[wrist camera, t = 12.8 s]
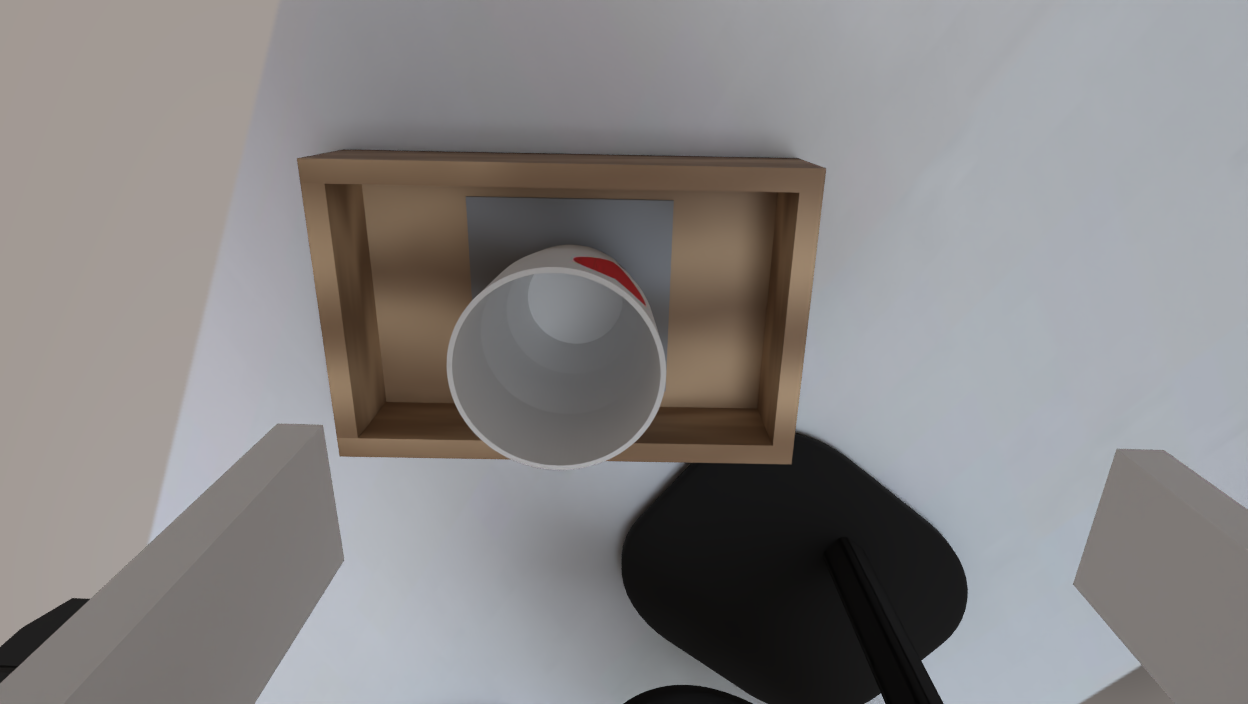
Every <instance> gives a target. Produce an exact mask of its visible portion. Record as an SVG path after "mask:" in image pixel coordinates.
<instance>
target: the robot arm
mask: <svg viewBox="0 0 1248 704" xmlns="http://www.w3.org/2000/svg"><path fill="white" fill-rule="evenodd" d="M343 561H344V555H343V549H342V542H341V536H340V530H339V524H338V517H337V511H336V505H335V498H334V492H333V486H332V480H331V473H330V467H329V461H328V454H327V448H326V442H325V436H324V429H323V425H307V424H277V425H275V426H274V427H273V428H272V429H271V430H270V431H269V432H268V433H267V434H266V435H265V436H264V437H263V438H262V439H261V440H259V441H258V442H257V443H256V444H255V445H254V446H253V447H252V448H251V449H250V450H249V451H248V452H247V453H246V454H245V455H243V456H242V457H241V458H240V459H239V460H238V461H237V462H236V463H235V464H234V465H233V466H232V467H231V468H230V469H229V470H227V471H226V472H225V473H224V474H223V475H222V476H221V477H220V478H219V479H218V480H217V481H216V482H215V483H214V484H213V485H211V486H210V487H209V488H208V489H207V490H206V491H205V492H204V493H203V494H202V495H201V496H200V497H199V498H198V499H196V500H195V501H194V502H193V503H192V504H191V505H190V506H189V507H188V508H187V509H186V510H185V511H184V512H183V513H182V514H180V515H179V516H178V517H177V518H176V519H175V520H174V521H173V522H172V523H171V524H170V525H169V526H168V527H167V528H166V529H164V530H163V531H162V532H161V533H160V534H159V535H158V536H157V537H156V538H155V539H154V540H153V541H152V542H151V543H150V544H148V545H147V546H146V547H145V548H144V549H143V550H142V551H141V552H140V553H139V554H138V555H137V556H136V557H135V558H134V559H132V560H131V561H130V562H129V563H128V564H127V565H126V566H125V567H124V568H123V569H122V570H121V571H120V572H119V573H118V574H117V575H115V576H114V577H113V578H112V579H111V580H110V581H109V582H108V583H107V584H106V585H105V586H104V587H103V588H102V589H100V590H99V592H97V593H96V594H95V595H94V596H93V597H92V598H91V599H77V598H72V599H70V600H69V601H67V602H65V603H63V604H62V605H60V606H58V607H57V608H55V609H53V610H52V611H50V612H48V613H46V614H45V615H43V616H41V617H40V618H38V619H36V620H35V621H33V622H31V623H30V624H28V625H26V626H25V627H23V628H21V629H20V630H19V631H18V632H17V633H16V634H14V636H12V637H11V638H10V639H9V640H8V641H6V642H5V643H4V644H3V645H2V646H1V647H0V704H255V702H256V700H257V699H258V697H259V696H260V694H261V692H262V691H263V689H264V688H265V686H266V684H267V683H268V681H269V680H270V678H271V676H272V675H273V673H274V672H275V670H276V668H277V667H278V665H279V664H280V662H281V660H282V659H283V657H284V656H285V654H286V652H287V651H288V649H289V648H290V646H291V644H292V643H293V641H294V640H295V638H296V636H297V635H298V633H299V632H300V630H301V628H302V627H303V625H304V624H305V622H306V620H307V619H308V617H309V616H310V614H311V612H312V611H313V609H314V608H315V606H316V604H317V603H318V601H319V600H320V598H321V596H322V595H323V593H324V592H325V590H326V588H327V587H328V585H329V584H330V582H331V580H332V579H333V577H334V576H335V574H336V572H337V571H338V569H339V568H340V566H341V564H342V563H343ZM1073 585H1074V586H1075V587H1076V588H1077V589H1078V591H1079V592H1080V593H1081V594H1082V595H1083V596H1084V598H1085V599H1086V600H1087V601H1088V602H1089V604H1090V605H1091V606H1092V607H1093V608H1094V609H1095V611H1096V612H1097V613H1098V614H1099V615H1100V616H1101V618H1102V619H1103V620H1104V621H1105V622H1106V623H1107V625H1108V626H1109V627H1110V628H1111V629H1112V631H1113V632H1114V633H1115V634H1116V635H1117V636H1118V638H1119V639H1120V640H1121V641H1122V642H1123V643H1124V645H1125V646H1126V647H1127V648H1128V649H1129V650H1130V652H1131V653H1132V654H1133V655H1134V656H1135V658H1136V659H1137V660H1138V661H1139V662H1140V663H1141V665H1142V666H1143V667H1144V668H1145V669H1146V670H1147V671H1148V673H1149V674H1150V675H1151V676H1152V677H1153V678H1154V680H1155V681H1156V682H1157V683H1158V684H1159V685H1160V687H1161V688H1162V689H1163V690H1164V692H1165V693H1166V694H1167V695H1168V696H1169V697H1170V699H1171V700H1172V701H1173V702H1174V703H1175V704H1248V509H1246V508H1245V507H1243V506H1242V505H1240V504H1239V503H1238V502H1236V501H1235V500H1233V499H1232V498H1231V497H1229V496H1228V495H1226V494H1225V493H1224V492H1222V491H1221V490H1219V489H1218V488H1217V487H1215V486H1214V485H1212V484H1211V483H1210V482H1208V481H1207V480H1205V479H1204V478H1202V477H1201V476H1200V475H1198V474H1197V473H1195V472H1194V471H1193V470H1191V469H1190V468H1188V467H1187V466H1186V465H1184V464H1183V463H1181V462H1180V461H1179V460H1177V459H1176V458H1174V457H1173V456H1172V455H1170V454H1169V453H1167V452H1166V451H1164V450H1140V449H1117V450H1116V453H1115V456H1114V459H1113V462H1112V465H1111V468H1110V471H1109V474H1108V477H1107V481H1106V484H1105V487H1104V490H1103V493H1102V496H1101V499H1100V502H1099V505H1098V508H1097V512H1096V515H1095V518H1094V521H1093V524H1092V527H1091V530H1090V533H1089V536H1088V539H1087V543H1086V546H1085V549H1084V552H1083V555H1082V558H1081V561H1080V564H1079V567H1078V570H1077V574H1076V577H1075V580H1074V583H1073Z"/></svg>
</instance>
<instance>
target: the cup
mask: <svg viewBox="0 0 1248 704" xmlns="http://www.w3.org/2000/svg"><path fill="white" fill-rule="evenodd" d="M447 377H448V383H449V388H450V391H451V395H452V398H453V400H454V403H455V405H456V407H457V409H458V411H459V413H460V415H461V416H462V418H463V419H464V421H465V422H466V424H467V425H468V426H469V427H470V429H471V430H472V431H473V432H474V433H475V434H476V435H477V436H478V437H479V438H480V439H481V440H482V441H483V442H484V443H486V444H487V445H488V446H489V447H491V448H492V449H494V450H495V451H497V452H498V453H500V454H502V455H503V456H505V457H507V458H509V459H512V460H514V461H516V462H519V463H522V464H525V465H528V466H532V467H536V468H542V469H550V470H571V469H579V468H584V467H589V466H593V465H596V464H599V463H602V462H604V461H606V460H609V459H611V458H613V457H615V456H616V455H618V454H620V453H621V452H623V451H624V450H626V449H627V448H628V447H630V446H631V445H632V444H633V443H634V442H636V441H637V440H638V439H639V438H640V437H641V435H642V434H643V433H644V432H645V431H646V429H647V428H648V427H649V425H650V424H651V422H652V421H653V419H654V417H655V416H656V414H657V411H658V409H659V407H660V404H661V401H662V398H663V394H664V390H665V383H666V361H665V355H664V350H663V346H662V343H661V340H660V336H659V333H658V330H657V327H656V324H655V320H654V317H653V314H652V311H651V308H650V305H649V303H648V301H647V299H646V297H645V295H644V293H643V292H642V290H641V289H640V287H639V286H638V285H637V283H636V282H635V281H634V280H633V279H632V277H631V276H630V275H629V274H628V273H627V271H626V270H625V269H624V268H623V267H622V266H621V265H620V264H619V263H618V262H617V261H616V260H614V259H613V258H612V257H610V256H608V255H607V254H605V253H603V252H601V251H599V250H596V249H594V248H590V247H587V246H582V245H558V246H553V247H550V248H547V249H544V250H541V251H538V252H536V253H533V254H530V255H528V256H525V257H523V258H521V259H519V260H518V261H516V262H514V263H513V264H511V265H510V266H508V267H507V268H506V269H505V270H504V271H502V272H501V273H500V274H499V275H498V276H497V277H496V278H495V279H494V280H493V281H492V282H491V283H490V284H489V285H488V286H487V287H486V288H485V289H484V290H482V291H481V292H480V293H479V294H478V295H477V296H476V297H475V298H474V299H473V300H472V301H471V302H470V304H469V305H468V306H467V307H466V309H465V310H464V311H463V313H462V314H461V316H460V318H459V319H458V321H457V323H456V325H455V327H454V330H453V332H452V335H451V338H450V342H449V346H448V352H447Z"/></svg>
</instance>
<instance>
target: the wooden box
mask: <svg viewBox="0 0 1248 704" xmlns="http://www.w3.org/2000/svg"><path fill="white" fill-rule="evenodd" d="M297 162H298V169H299V176H300V183H301V190H302V197H303V204H304V211H305V218H306V225H307V232H308V239H309V246H310V253H311V260H312V267H313V274H314V281H315V288H316V295H317V302H318V309H319V316H320V323H321V330H322V337H323V344H324V351H325V358H326V365H327V371H328V378H329V385H330V392H331V399H332V406H333V413H334V420H335V427H336V434H337V441H338V448H339V455H340V456H348V457H405V458H461V459H509V458H507V457H505V456H503V455H502V454H500V453H498V452H497V451H495V450H494V449H492V448H491V447H489V446H488V445H487V444H486V443H484V442H483V441H482V440H481V439H480V438H479V437H478V436H477V435H476V434H475V433H474V432H473V431H472V430H471V429H470V427H469V426H468V425H467V424H466V422H465V421H464V419H463V418H462V416H461V415H460V413H459V411H458V409H457V407H456V405H455V403H454V400H453V398H452V395H451V391H450V388H449V383H448V377H447V352H448V346H449V342H450V338H451V335H452V332H453V330H454V327H455V325H456V323H457V321H458V319H459V318H460V316H461V314H462V313H463V311H464V310H465V309H466V307H467V306H468V305H469V304H470V302H471V301H472V300H473V299H474V298H475V297H476V296H477V295H478V294H479V293H480V292H481V291H482V290H484V289H485V288H486V287H487V286H488V285H489V284H490V283H491V282H492V281H493V280H494V279H495V278H496V277H497V276H498V275H499V274H500V273H501V272H502V271H504V270H505V269H506V268H507V267H508V266H510V265H511V264H513V263H514V262H516V261H518V260H519V259H521V258H523V257H525V256H528V255H530V254H533V253H536V252H538V251H541V250H544V249H547V248H550V247H553V246H558V245H582V246H587V247H590V248H594V249H596V250H599V251H601V252H603V253H605V254H607V255H608V256H610V257H612V258H613V259H614V260H616V261H617V262H618V263H619V264H620V265H621V266H622V267H623V268H624V269H625V270H626V271H627V273H628V274H629V275H630V276H631V277H632V279H633V280H634V281H635V282H636V283H637V285H638V286H639V287H640V289H641V290H642V292H643V293H644V295H645V297H646V299H647V301H648V303H649V305H650V308H651V311H652V314H653V317H654V320H655V324H656V327H657V330H658V333H659V336H660V340H661V343H662V346H663V350H664V355H665V361H666V383H665V390H664V394H663V398H662V401H661V404H660V407H659V409H658V411H657V414H656V416H655V417H654V419H653V421H652V422H651V424H650V425H649V427H648V428H647V429H646V431H645V432H644V433H643V434H642V435H641V437H640V438H639V439H638V440H637V441H636V442H634V443H633V444H632V445H631V446H630V447H628V448H627V449H626V450H624V451H623V452H621V453H620V454H618V455H616V456H615V457H613V458H611V459H609V460H606V461H632V462H689V463H746V464H791V463H792V455H793V446H794V438H795V429H796V421H797V412H798V404H799V395H800V387H801V378H802V370H803V361H804V353H805V344H806V336H807V327H808V319H809V310H810V302H811V293H812V285H813V276H814V268H815V259H816V251H817V242H818V234H819V225H820V216H821V208H822V199H823V191H824V182H825V174H826V168H823V167H820V166H818V165H815V164H812V163H810V162H807V161H804V160H801V159H799V158H757V157H705V156H652V155H600V154H547V153H495V152H443V151H390V150H339V151H334V152H328V153H323V154H318V155H313V156H307V157H302V158H297Z"/></svg>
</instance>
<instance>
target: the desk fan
mask: <svg viewBox="0 0 1248 704" xmlns="http://www.w3.org/2000/svg"><path fill="white" fill-rule="evenodd" d="M622 578H623V583H624V587H625V589H626V592H627V595H628V597H629V599H630V601H631V603H632V605H633V606H634V608H635V609H636V610H637V612H638V613H639V615H640V616H641V617H642V618H643V619H644V620H645V622H646V623H647V624H648V625H649V626H650V627H652V628H653V629H654V630H655V631H656V632H657V633H658V634H660V635H661V636H662V637H664V638H665V639H667V640H668V641H670V642H671V643H673V644H674V645H676V646H677V647H679V648H680V649H682V650H683V651H685V652H686V653H688V654H689V655H691V656H692V657H694V658H695V659H697V660H698V661H700V662H701V663H703V664H704V665H706V666H707V667H709V668H710V669H712V670H713V671H715V672H716V673H718V674H719V675H721V676H723V677H724V678H726V679H727V680H729V681H730V682H732V683H733V684H735V685H736V686H738V687H739V688H741V689H742V690H744V691H745V692H747V693H748V694H750V695H752V696H753V697H755V698H757V699H759V700H761V701H763V702H765V703H767V704H864V703H866V702H868V701H870V700H872V699H873V698H875V697H876V696H878V695H879V694H880V693H881V694H882V697H883V699H884V701H885V704H943V702H942V700H941V698H940V696H939V694H938V692H937V690H936V688H935V686H934V685H933V683H932V681H931V679H930V677H929V675H928V673H927V671H926V669H925V667H924V665H923V663H922V661H921V660H923V659H924V658H925V657H926V656H928V655H929V654H930V653H931V652H933V651H934V650H935V649H936V648H938V647H939V646H940V645H941V644H943V643H944V642H945V641H946V640H947V639H948V638H949V637H950V636H951V635H952V633H953V632H954V631H955V630H956V628H957V627H958V625H959V623H960V622H961V620H962V617H963V615H964V612H965V609H966V603H967V593H968V588H967V581H966V576H965V573H964V570H963V567H962V565H961V563H960V560H959V558H958V557H957V555H956V554H955V552H954V551H953V549H952V548H951V546H950V545H949V543H948V542H947V541H946V539H945V538H944V537H943V536H942V535H941V534H940V533H939V531H938V530H936V529H935V528H934V527H933V526H932V525H931V524H930V523H929V522H927V521H926V520H925V519H924V518H922V517H921V516H920V515H919V514H917V513H916V512H915V511H914V510H912V509H911V508H910V507H908V506H907V505H906V504H905V503H903V502H902V501H901V500H900V499H898V498H897V497H896V496H895V495H893V494H892V493H891V492H890V491H888V490H887V489H886V488H885V487H883V486H882V485H881V484H880V483H878V482H877V481H876V480H875V479H873V478H872V477H871V476H870V475H868V474H867V473H866V472H865V471H863V470H862V469H861V468H860V467H858V466H857V465H856V464H855V463H853V462H852V461H851V460H850V459H848V458H847V457H845V456H844V455H843V454H841V453H840V452H838V451H837V450H835V449H833V448H831V447H830V446H828V445H826V444H824V443H822V442H819V441H817V440H815V439H812V438H809V437H806V436H803V435H799V434H795V438H794V446H793V455H792V463H791V464H746V463H692V464H691V465H690V466H689V467H688V468H687V469H686V470H685V471H684V472H683V473H682V474H681V475H680V476H679V477H678V478H677V479H676V480H675V481H674V482H673V483H672V485H671V486H670V487H669V488H668V489H667V490H666V491H665V492H664V493H663V494H662V495H661V496H660V497H659V498H658V499H657V500H656V501H655V502H654V503H653V504H652V505H651V506H650V507H649V508H648V509H647V510H646V511H645V512H644V513H643V514H642V515H641V516H640V517H639V519H638V520H637V521H636V522H635V523H634V525H633V526H632V527H631V529H630V531H629V532H628V534H627V536H626V539H625V542H624V545H623V550H622ZM624 704H752V703H750V702H748V701H746V700H744V699H742V698H739V697H737V696H734V695H732V694H729V693H726V692H723V691H719V690H716V689H712V688H707V687H701V686H693V685H672V686H664V687H659V688H655V689H652V690H649V691H646V692H644V693H641V694H639V695H637V696H635V697H633V698H631V699H630V700H628V701H627V702H625V703H624Z"/></svg>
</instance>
